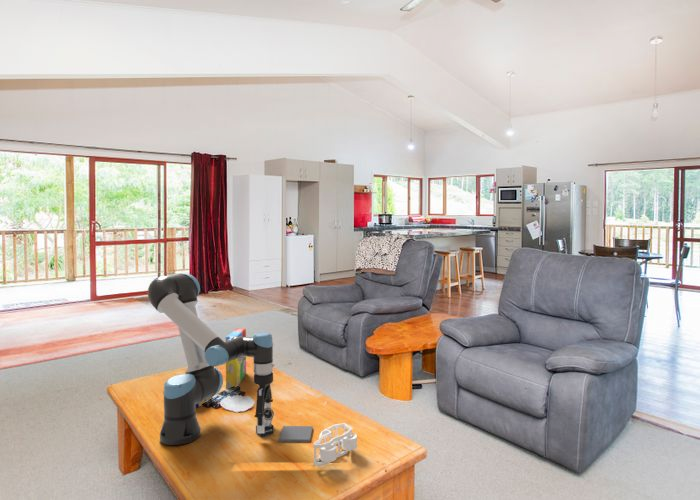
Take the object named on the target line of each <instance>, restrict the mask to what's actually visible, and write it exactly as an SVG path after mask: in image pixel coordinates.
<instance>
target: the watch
mask: <svg viewBox="0 0 700 500" xmlns="http://www.w3.org/2000/svg"><path fill="white" fill-rule="evenodd" d="M259 414H260V413H259ZM274 415H275V411H274V410H273V409H272V407H271V408H270V407H269V406H267V405H265V407H264V428H265V433H257V424H256V425H255V434H257V435H258V436H259V437H260V438H262V437H267V436H271V435H273V434H274V432H275V431H274V428H275V427H274V424H272V422H273V420H274Z"/></svg>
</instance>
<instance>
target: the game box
mask: <svg viewBox="0 0 700 500" xmlns="http://www.w3.org/2000/svg"><path fill="white" fill-rule="evenodd" d="M246 330H247V329H246V328H235V329H234V330H233V331H231V332H230V333H229V334H228V335H226V336H225V342H227V340H228V339H229V338H230V337H232V336H241V337H247V335H246V334H247V333H246V332H247V331H246ZM246 374H247V356H241V357H239V358H237V359H234V360H231V361H229V362H227V363H225V389H232V388H231V387H233V386H239V385H240V384H241V381H242V380H244V377H245V375H246Z"/></svg>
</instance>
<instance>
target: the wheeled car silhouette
mask: <svg viewBox="0 0 700 500" xmlns="http://www.w3.org/2000/svg"><path fill="white" fill-rule="evenodd" d="M339 428H343V434H341V435H338V429H339ZM331 430H332V431H333V430H334V437H333V436H332V435H333V434H332V433H333V432H332V431H331ZM346 430H347V431H346ZM328 437H329V441H327V438H328ZM332 437H333V438H332ZM322 440H323V443H322ZM312 444H313V466H314V467H323V466H326V465H329V464H331V463H333V462H335V461H336V460H337V459H339V458H340V457H342V456H345V455H347V454H348V453H349V452H351V451H354V450H356V449H357V448H358V436H357V433H355V432H353V427H351V426H349V425H348V424H347V423H345V422H343V423H337V424H336V423H335V424H333V425H331V426H328V427H327V428H323V430H322V431H320V434H319V436H318V439H317V440H315V441H314V442H313V443H312ZM317 449H318V457H317ZM341 449H342V450H343V451H341Z"/></svg>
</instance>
